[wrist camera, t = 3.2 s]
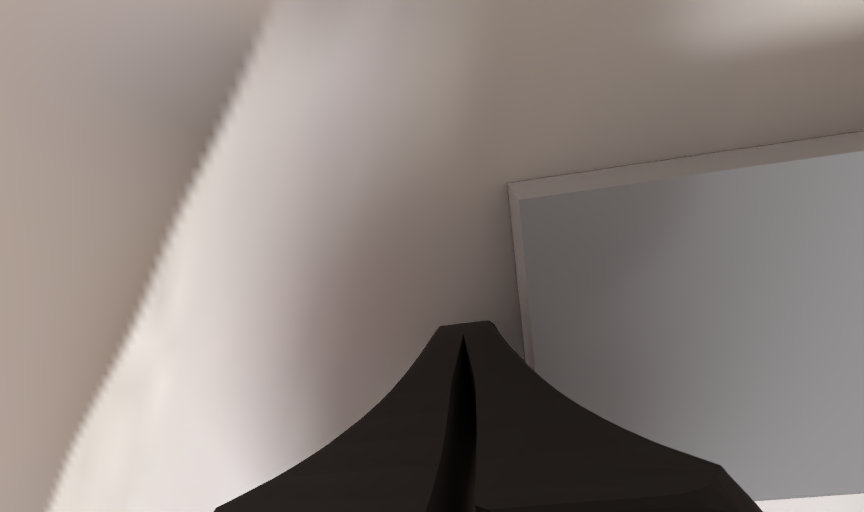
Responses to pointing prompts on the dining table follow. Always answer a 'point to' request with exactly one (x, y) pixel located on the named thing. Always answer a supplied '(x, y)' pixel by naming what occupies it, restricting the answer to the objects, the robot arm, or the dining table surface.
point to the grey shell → (709, 306)
